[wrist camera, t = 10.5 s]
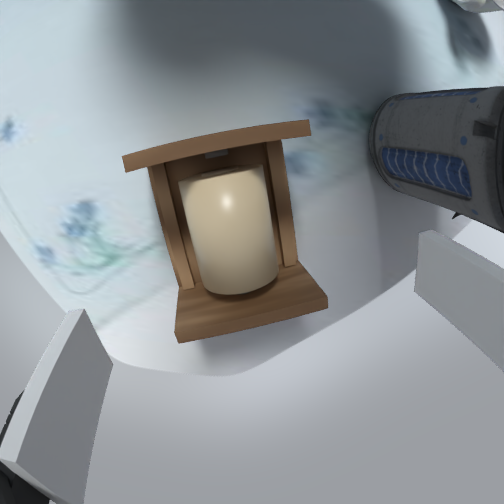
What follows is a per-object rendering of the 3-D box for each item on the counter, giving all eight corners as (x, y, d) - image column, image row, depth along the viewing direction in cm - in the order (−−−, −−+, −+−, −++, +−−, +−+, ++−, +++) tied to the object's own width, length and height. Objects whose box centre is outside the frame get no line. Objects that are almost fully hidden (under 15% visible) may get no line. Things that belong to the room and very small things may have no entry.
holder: (146, 152, 22) (122, 156, 15) (275, 126, 23) (308, 119, 16) (182, 291, 27) (178, 343, 20) (295, 265, 28) (328, 308, 21)
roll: (197, 170, 24) (162, 185, 18) (269, 159, 22) (251, 170, 17) (217, 261, 27) (191, 296, 21) (283, 257, 25) (271, 295, 20)
